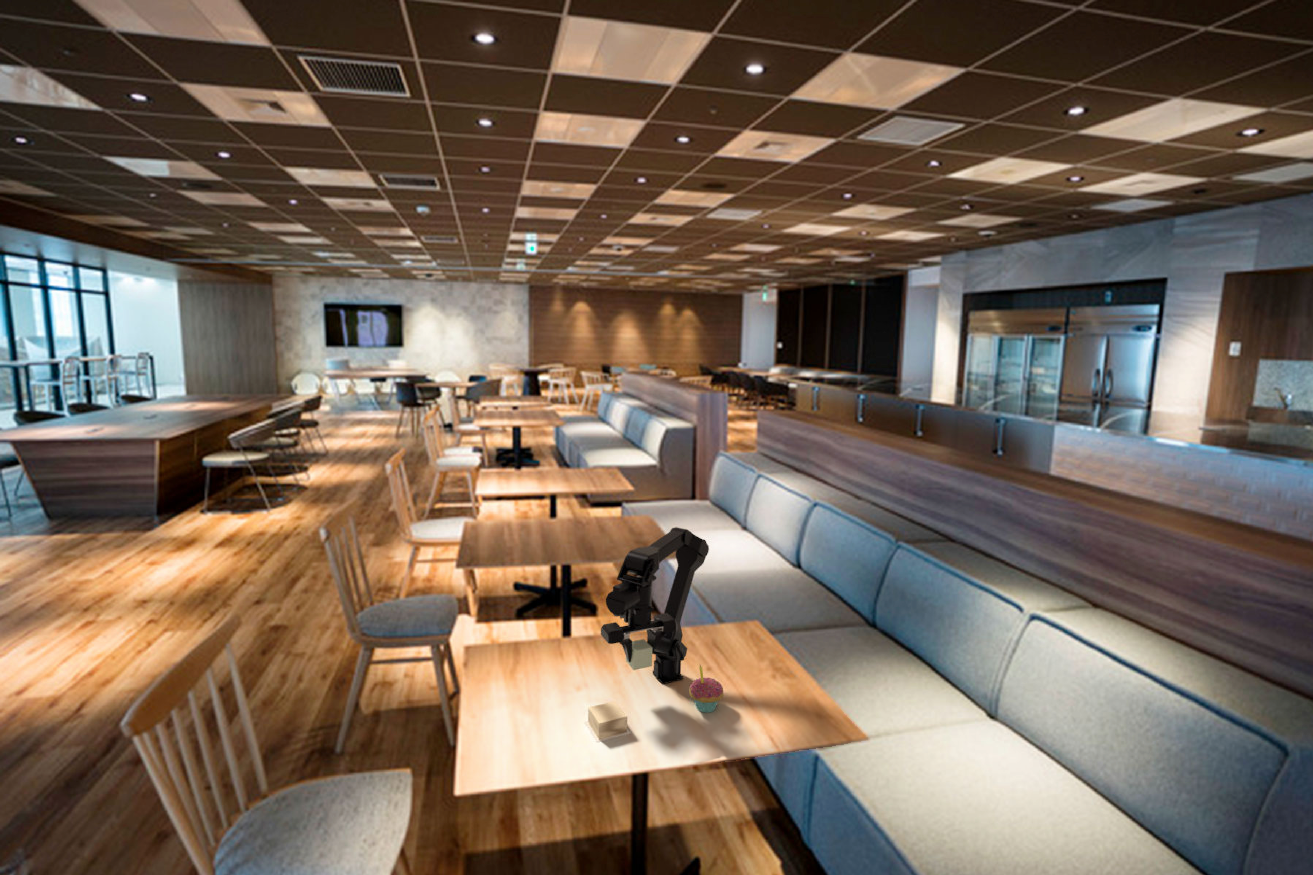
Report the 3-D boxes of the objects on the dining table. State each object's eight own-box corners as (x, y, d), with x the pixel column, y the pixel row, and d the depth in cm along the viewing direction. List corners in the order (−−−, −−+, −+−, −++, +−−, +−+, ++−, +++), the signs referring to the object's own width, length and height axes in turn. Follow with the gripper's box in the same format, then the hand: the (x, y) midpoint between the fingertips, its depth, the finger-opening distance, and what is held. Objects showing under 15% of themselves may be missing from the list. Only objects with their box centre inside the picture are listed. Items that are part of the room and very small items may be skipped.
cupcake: (699, 720, 160) (701, 674, 158) (682, 702, 168) (683, 658, 166) (729, 711, 164) (731, 666, 162) (711, 694, 172) (712, 651, 170)
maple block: (615, 716, 160) (615, 700, 160) (627, 731, 154) (627, 716, 153) (588, 722, 157) (588, 707, 157) (598, 739, 151) (598, 723, 150)
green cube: (643, 657, 171) (643, 638, 170) (651, 666, 166) (652, 647, 165) (625, 660, 168) (625, 642, 168) (633, 670, 164) (634, 651, 163)
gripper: (659, 584, 176) (657, 639, 178) (593, 594, 168) (592, 652, 170) (679, 599, 166) (677, 657, 168) (609, 611, 158) (608, 672, 160)
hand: (638, 659), depth 167 cm, fingers closed on green cube, 5 cm apart
